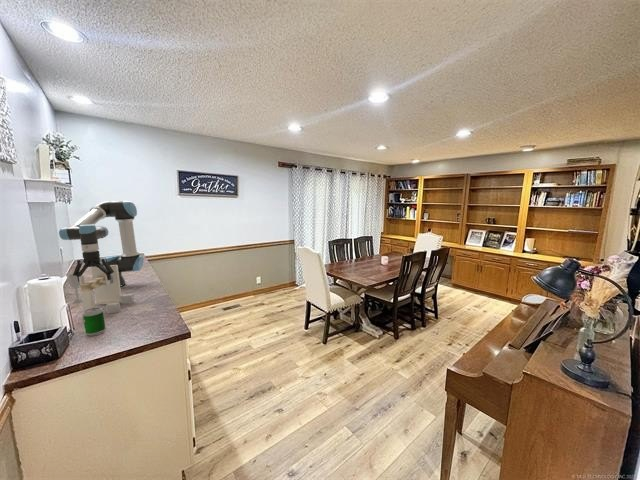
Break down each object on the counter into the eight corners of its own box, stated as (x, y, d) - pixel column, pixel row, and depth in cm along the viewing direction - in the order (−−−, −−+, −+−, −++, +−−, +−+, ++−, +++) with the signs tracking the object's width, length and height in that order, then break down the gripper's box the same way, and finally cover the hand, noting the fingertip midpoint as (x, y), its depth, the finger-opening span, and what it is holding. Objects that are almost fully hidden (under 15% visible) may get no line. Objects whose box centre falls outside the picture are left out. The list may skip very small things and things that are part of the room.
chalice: (67, 304, 167) (63, 276, 165) (74, 300, 174) (70, 273, 171) (81, 302, 169) (77, 275, 167) (87, 299, 176) (83, 272, 173)
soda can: (109, 329, 134) (106, 306, 132) (97, 336, 126) (94, 312, 124) (94, 329, 133) (91, 306, 132) (81, 337, 126) (77, 313, 124)
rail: (101, 282, 166) (100, 275, 165) (108, 281, 167) (107, 275, 166) (81, 291, 149) (80, 284, 148) (89, 291, 149) (88, 284, 149)
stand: (123, 302, 170) (122, 294, 169) (133, 301, 171) (132, 294, 170) (106, 313, 153) (105, 305, 152) (118, 312, 154) (117, 304, 153)
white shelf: (97, 302, 170) (92, 266, 166) (122, 300, 172) (117, 264, 169) (74, 315, 150) (68, 274, 146) (102, 313, 152) (96, 273, 149)
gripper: (61, 253, 149) (66, 289, 152) (110, 251, 153) (115, 286, 156) (71, 250, 156) (76, 285, 159) (118, 249, 160) (122, 282, 163)
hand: (95, 286), depth 158 cm, fingers open, 13 cm apart
